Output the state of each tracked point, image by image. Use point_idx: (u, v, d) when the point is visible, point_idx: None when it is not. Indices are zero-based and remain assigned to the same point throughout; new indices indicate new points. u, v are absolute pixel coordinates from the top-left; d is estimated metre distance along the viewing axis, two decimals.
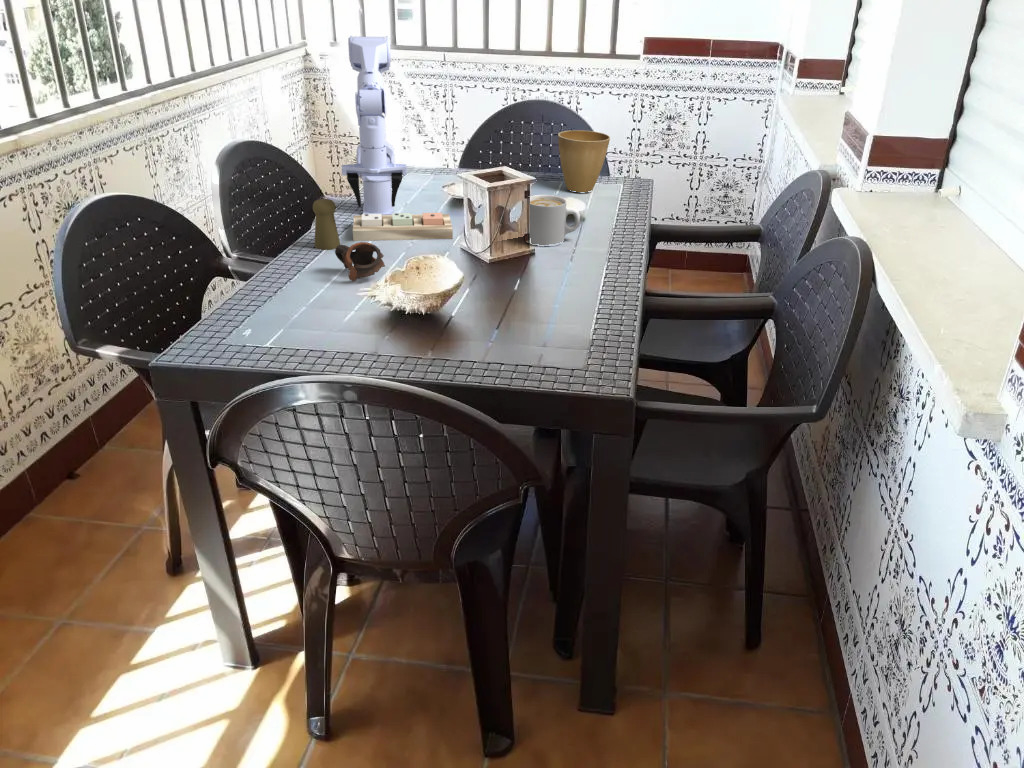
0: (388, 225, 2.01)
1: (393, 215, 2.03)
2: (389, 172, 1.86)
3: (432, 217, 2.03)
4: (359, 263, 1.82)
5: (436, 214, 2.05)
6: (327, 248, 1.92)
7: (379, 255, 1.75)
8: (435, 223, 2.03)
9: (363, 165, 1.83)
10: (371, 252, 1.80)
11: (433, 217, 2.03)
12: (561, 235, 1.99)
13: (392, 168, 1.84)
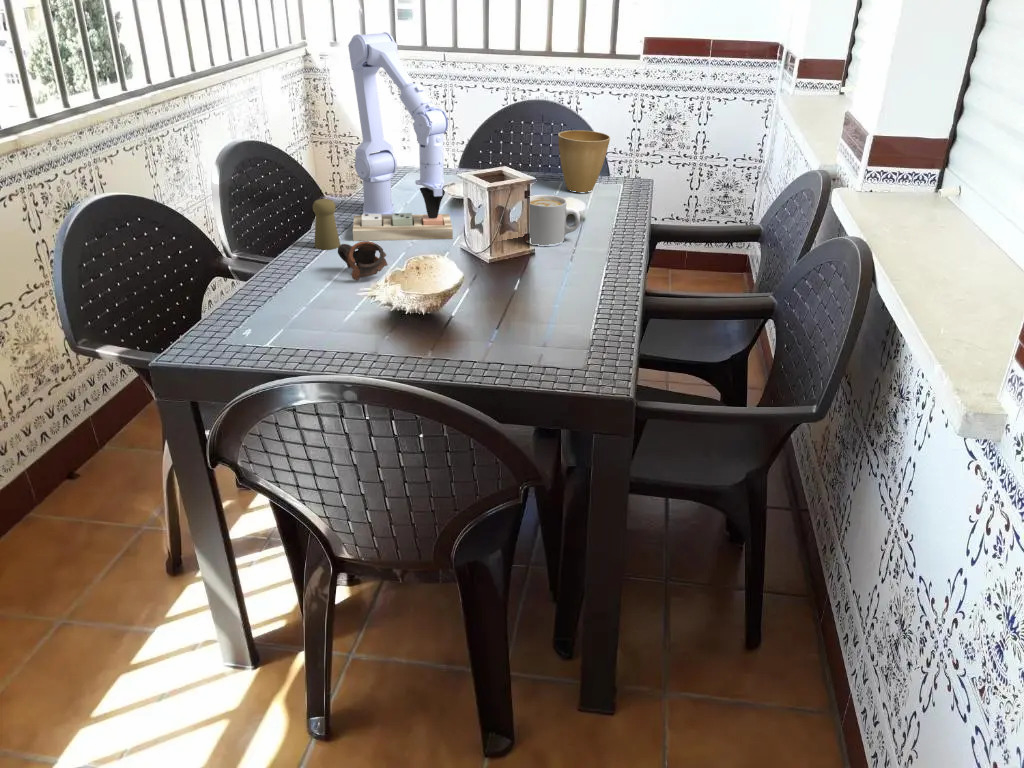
0: (388, 225, 2.01)
1: (393, 215, 2.03)
2: None
3: (432, 219, 2.03)
4: (361, 262, 1.82)
5: None
6: (327, 248, 1.92)
7: (382, 254, 1.75)
8: None
9: None
10: (373, 251, 1.81)
11: (433, 219, 2.03)
12: (561, 235, 1.99)
13: (428, 186, 1.96)
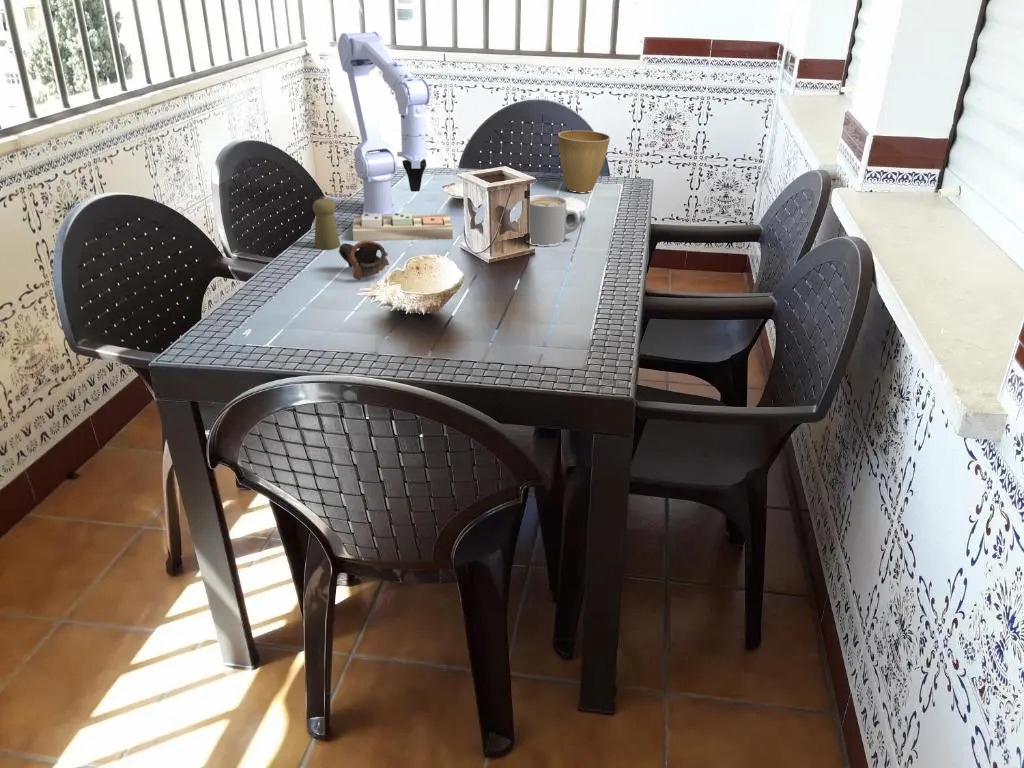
0: (388, 225, 2.01)
1: (393, 215, 2.03)
2: None
3: (432, 221, 2.03)
4: (363, 262, 1.83)
5: (436, 218, 2.05)
6: (327, 248, 1.92)
7: (383, 254, 1.75)
8: None
9: None
10: (375, 251, 1.81)
11: (433, 221, 2.03)
12: (561, 235, 1.99)
13: (407, 158, 1.92)
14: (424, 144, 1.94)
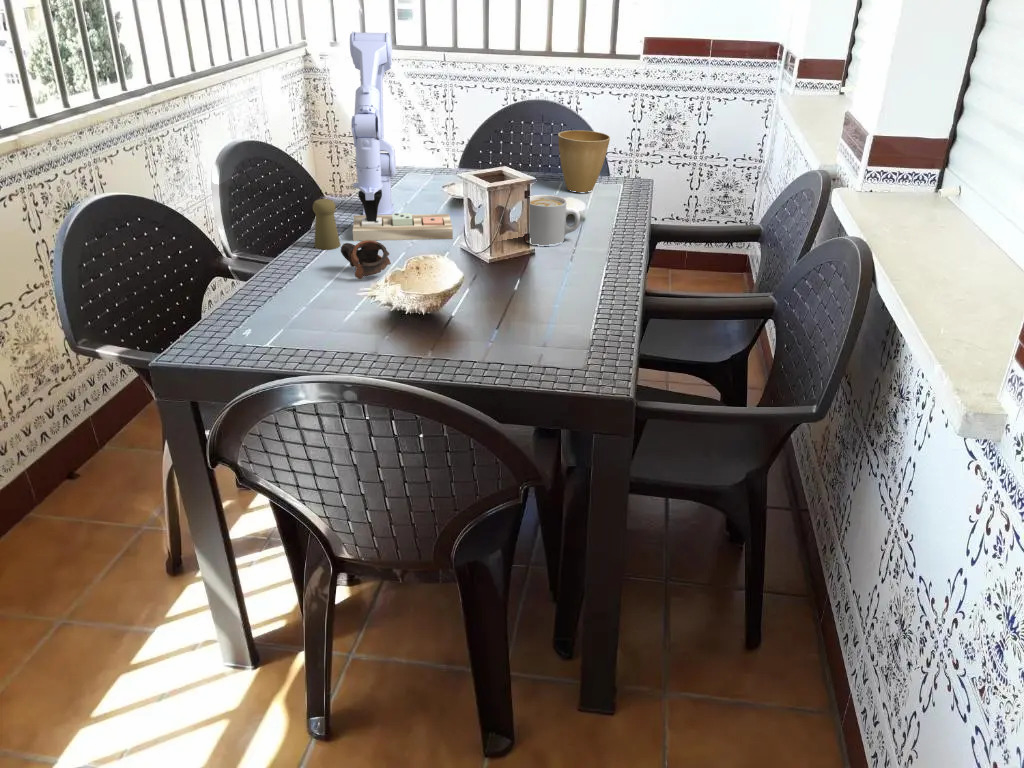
0: (388, 225, 2.01)
1: (393, 215, 2.03)
2: None
3: (432, 221, 2.03)
4: (364, 261, 1.83)
5: (436, 218, 2.05)
6: (327, 248, 1.92)
7: (385, 253, 1.76)
8: None
9: None
10: (376, 250, 1.81)
11: (433, 221, 2.03)
12: (561, 235, 1.99)
13: (362, 189, 1.94)
14: (379, 176, 1.96)
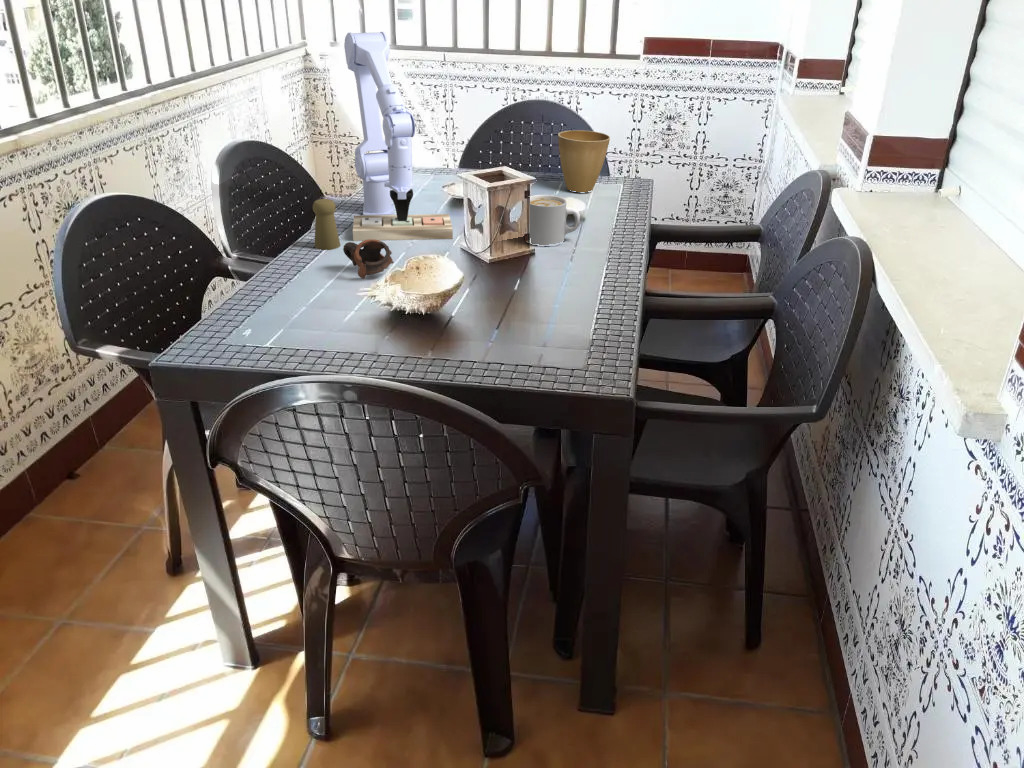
0: (388, 225, 2.01)
1: (393, 219, 2.04)
2: None
3: (432, 221, 2.03)
4: (367, 260, 1.84)
5: (436, 218, 2.05)
6: (327, 248, 1.92)
7: (388, 252, 1.76)
8: None
9: None
10: (379, 249, 1.82)
11: (433, 221, 2.03)
12: (561, 235, 1.99)
13: (394, 188, 1.95)
14: (411, 175, 1.97)
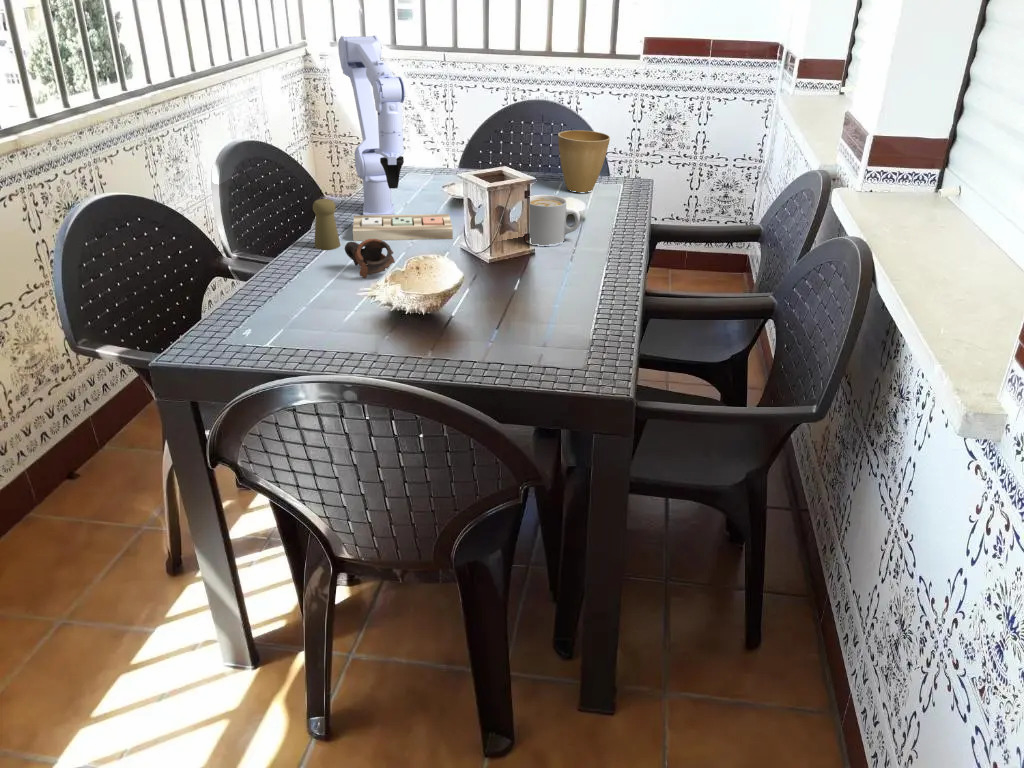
0: (388, 225, 2.01)
1: (393, 219, 2.04)
2: None
3: (432, 221, 2.03)
4: (368, 260, 1.84)
5: (436, 218, 2.05)
6: (327, 248, 1.92)
7: (389, 251, 1.77)
8: None
9: None
10: (380, 249, 1.82)
11: (433, 221, 2.03)
12: (561, 235, 1.99)
13: (384, 154, 1.94)
14: (401, 141, 1.96)
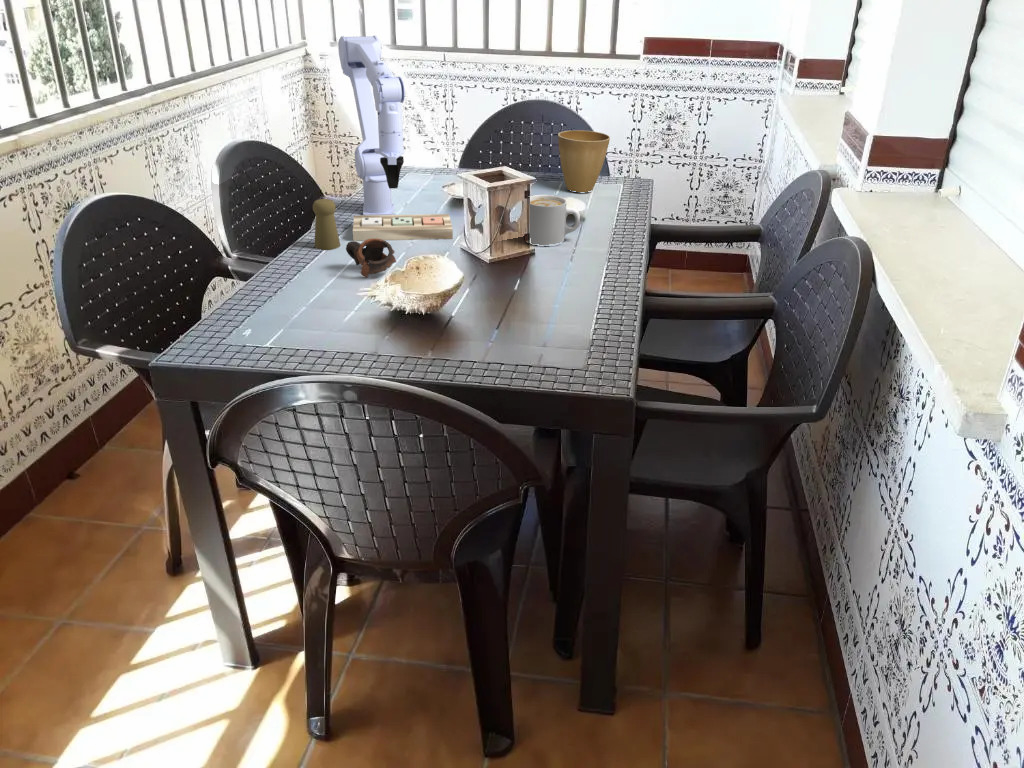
0: (388, 225, 2.01)
1: (393, 219, 2.04)
2: None
3: (432, 221, 2.03)
4: (369, 259, 1.84)
5: (436, 218, 2.05)
6: (327, 248, 1.92)
7: (391, 251, 1.77)
8: None
9: None
10: (381, 248, 1.82)
11: (433, 221, 2.03)
12: (561, 235, 1.99)
13: (384, 154, 1.94)
14: (401, 141, 1.96)
